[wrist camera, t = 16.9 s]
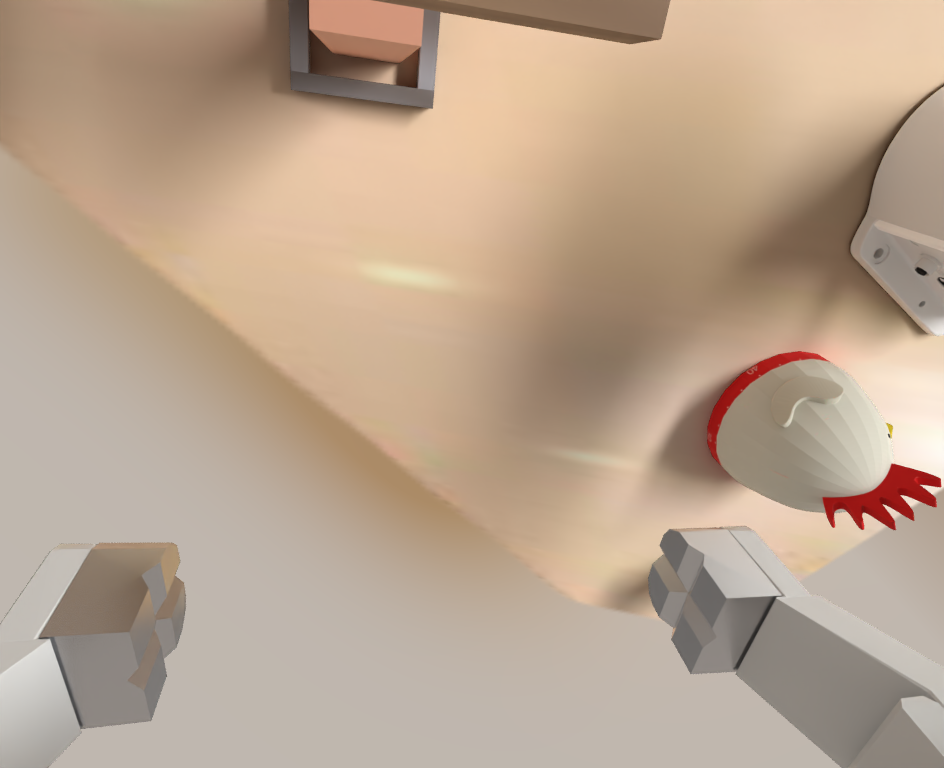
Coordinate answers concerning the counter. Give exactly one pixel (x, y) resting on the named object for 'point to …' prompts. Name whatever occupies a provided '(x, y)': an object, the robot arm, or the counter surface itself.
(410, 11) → the peg
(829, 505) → the kitchen timer
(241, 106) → the counter surface
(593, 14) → the socket stand
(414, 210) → the counter surface
